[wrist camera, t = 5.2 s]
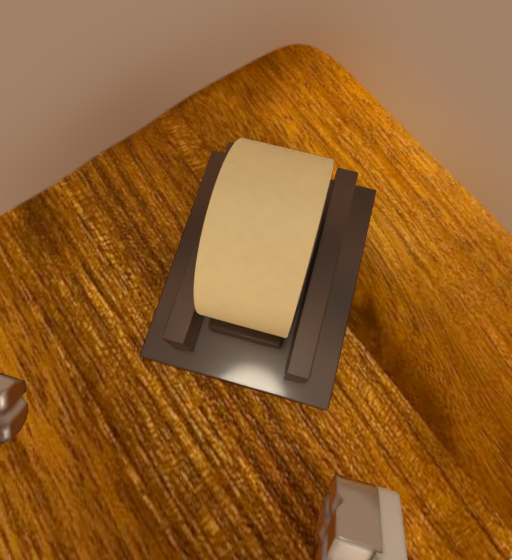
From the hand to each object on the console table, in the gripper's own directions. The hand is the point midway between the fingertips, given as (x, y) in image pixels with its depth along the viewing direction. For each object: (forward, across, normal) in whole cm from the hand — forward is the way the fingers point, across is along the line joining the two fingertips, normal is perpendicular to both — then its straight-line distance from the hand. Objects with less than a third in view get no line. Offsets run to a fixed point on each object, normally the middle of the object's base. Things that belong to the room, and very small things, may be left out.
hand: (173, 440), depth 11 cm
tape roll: (+16, 0, +3) cm, 16 cm away
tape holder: (+16, 0, +3) cm, 17 cm away
